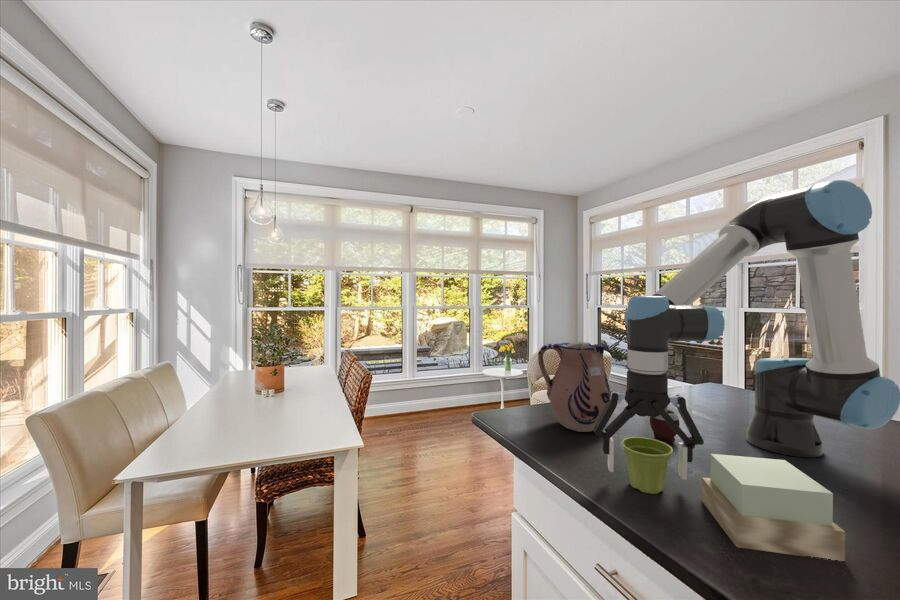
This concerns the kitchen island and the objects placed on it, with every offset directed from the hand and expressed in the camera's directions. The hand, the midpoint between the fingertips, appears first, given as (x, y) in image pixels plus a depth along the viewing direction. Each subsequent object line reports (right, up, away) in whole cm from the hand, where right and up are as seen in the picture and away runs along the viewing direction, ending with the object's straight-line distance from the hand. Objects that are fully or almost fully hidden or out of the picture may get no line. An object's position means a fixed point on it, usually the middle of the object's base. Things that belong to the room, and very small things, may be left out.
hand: (645, 473), depth 79 cm
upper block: (+13, +1, -14) cm, 19 cm away
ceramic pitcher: (-3, -3, +36) cm, 36 cm away
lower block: (+13, -4, -14) cm, 19 cm away
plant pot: (0, -3, 0) cm, 3 cm away
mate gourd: (+18, -3, +25) cm, 31 cm away
